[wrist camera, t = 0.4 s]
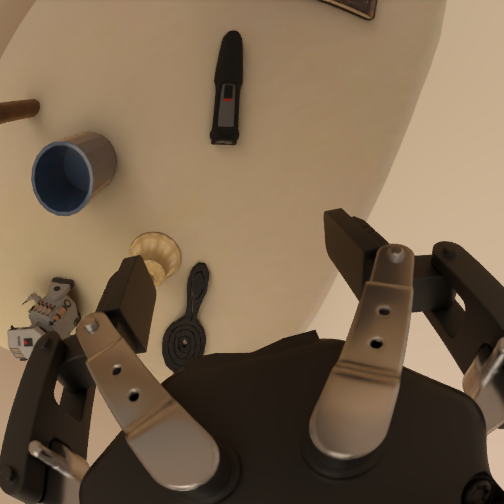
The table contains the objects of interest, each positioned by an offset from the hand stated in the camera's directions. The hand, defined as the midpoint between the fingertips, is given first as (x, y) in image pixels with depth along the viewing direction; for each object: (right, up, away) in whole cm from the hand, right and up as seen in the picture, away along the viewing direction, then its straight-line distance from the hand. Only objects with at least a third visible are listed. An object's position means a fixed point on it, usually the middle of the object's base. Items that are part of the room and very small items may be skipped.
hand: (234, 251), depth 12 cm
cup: (-22, +13, +22) cm, 34 cm away
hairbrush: (-11, -12, +38) cm, 41 cm away
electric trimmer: (-3, +21, +21) cm, 30 cm away
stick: (-31, +21, +16) cm, 41 cm away
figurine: (-35, -8, +32) cm, 48 cm away
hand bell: (-14, -1, +31) cm, 34 cm away
